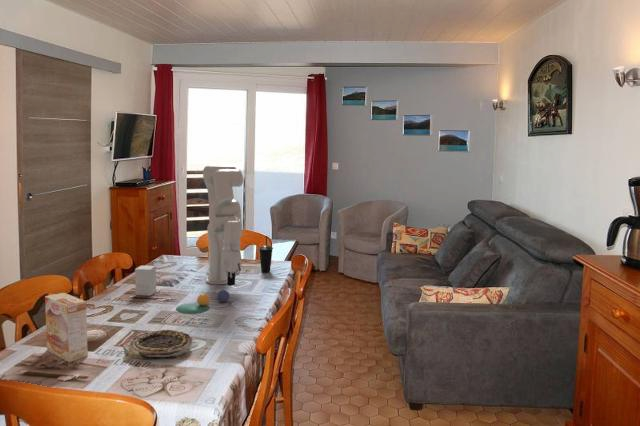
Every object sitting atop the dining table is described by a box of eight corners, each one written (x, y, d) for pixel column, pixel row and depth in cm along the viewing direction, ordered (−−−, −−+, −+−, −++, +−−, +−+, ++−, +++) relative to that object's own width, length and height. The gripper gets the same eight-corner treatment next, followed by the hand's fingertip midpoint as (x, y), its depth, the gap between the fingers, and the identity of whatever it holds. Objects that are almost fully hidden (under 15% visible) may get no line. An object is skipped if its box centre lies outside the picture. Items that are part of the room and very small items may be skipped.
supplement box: (156, 291, 262) (156, 265, 261) (150, 296, 255) (149, 269, 253) (141, 290, 263) (141, 265, 261) (135, 295, 256) (134, 268, 254)
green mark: (170, 307, 239) (170, 307, 239) (197, 301, 249) (197, 301, 249) (188, 315, 230) (188, 315, 230) (215, 308, 240) (215, 308, 240)
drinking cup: (266, 274, 301) (266, 238, 298) (255, 271, 305) (256, 236, 302) (275, 271, 307) (276, 236, 304) (265, 269, 311) (265, 234, 309)
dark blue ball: (224, 288, 253) (221, 299, 253) (216, 288, 248) (213, 299, 249) (233, 292, 250) (229, 303, 250) (225, 292, 245) (221, 304, 246)
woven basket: (172, 331, 213) (172, 319, 212) (218, 352, 196) (218, 338, 195) (104, 352, 191) (104, 339, 190) (149, 377, 174) (149, 362, 173)
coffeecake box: (46, 350, 190) (43, 296, 187) (66, 344, 196) (64, 291, 193) (68, 362, 181) (66, 305, 178) (88, 356, 186) (87, 300, 184)
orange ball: (205, 302, 247) (195, 305, 244) (204, 290, 246) (194, 294, 242) (212, 305, 244) (202, 308, 240) (211, 293, 243) (201, 296, 239)
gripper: (215, 244, 254) (214, 282, 257) (235, 251, 244) (234, 291, 247) (228, 242, 259) (227, 279, 263) (248, 249, 249) (247, 287, 253)
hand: (231, 285), depth 255 cm, fingers closed
